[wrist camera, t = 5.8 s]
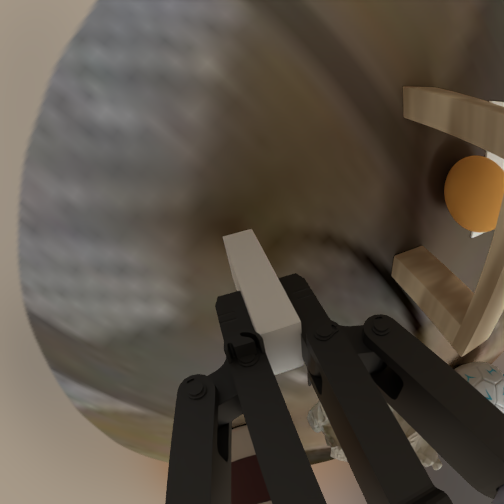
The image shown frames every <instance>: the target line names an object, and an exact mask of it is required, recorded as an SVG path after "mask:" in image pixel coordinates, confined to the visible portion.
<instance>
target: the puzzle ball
mask: <svg viewBox="0 0 504 504" xmlns="http://www.w3.org/2000/svg"><path fill="white" fill-rule="evenodd" d="M454 370H455V371H456V372H457V373H458V374H460V375H461V376H462V377H463V378H464V379H465V380H466V381H468V382H469V383H470V384H471V385H472V386H473V387H475V388H476V389H477V390H478V391H479V392H480V393H481V394H482V395H484V396H485V397H486V398H487V399H488V400H489V401H490V402H491V403H493V404H494V405H495V406H496V407H497V408H498V409H499V410H500V411H502V412H503V413H504V374H502V373H501V371H500V370H499V369H498V368H497V367H495V366H493V365H491V364H489V363H487V362H471V363H467V364H464V365H461V366H459V367H457V368H455V369H454Z"/></svg>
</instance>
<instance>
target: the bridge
mask: <svg viewBox="0 0 504 504" xmlns="http://www.w3.org/2000/svg"><path fill="white" fill-rule="evenodd" d="M403 118H406V119H409V120H412V121H415V122H418V123H421V124H424V125H426V126H429V127H432V128H435V129H437V130H440V131H442V132H445V133H447V134H450V135H452V136H455V137H457V138H460V139H462V140H464V141H467V142H469V143H471V144H473V145H476V146H478V147H480V148H482V149H484V150H486V151H488V152H491V153H493V154H495V155H497V156H499V157H501V158H503V159H504V107H503V106H500V105H497V104H494V103H491V102H488V101H485V100H481V99H478V98H475V97H471V96H468V95H464V94H461V93H457V92H453V91H449V90H445V89H441V88H436V87H411V86H403ZM391 276H392V277H393V278H394V279H395V280H396V281H397V283H398V284H399V285H400V286H401V287H402V288H403V289H404V290H405V291H406V293H407V294H408V295H409V296H410V297H411V298H412V299H413V300H414V302H415V303H416V304H417V305H418V306H419V307H420V308H421V310H422V311H423V312H424V313H425V314H426V315H427V316H428V318H429V319H430V320H431V321H432V322H433V324H434V325H435V326H436V327H437V328H438V329H439V331H440V332H441V333H442V334H443V335H444V337H445V338H446V339H447V340H448V342H449V343H450V344H451V345H452V347H453V348H454V349H455V350H456V352H457V353H458V354H459V355H460V357H463V356H464V355H466V354H467V353H469V352H470V351H471V350H473V349H474V348H476V347H477V346H479V345H480V344H481V343H483V342H484V341H486V340H487V339H488V338H489V336H490V335H491V333H492V331H493V329H494V327H495V325H496V323H497V322H498V320H499V318H500V316H501V314H502V312H503V310H504V194H503V199H502V203H501V208H500V212H499V216H498V220H497V224H496V228H495V232H494V235H493V239H492V242H491V246H490V249H489V252H488V255H487V259H486V262H485V265H484V268H483V271H482V273H481V276H480V279H479V282H478V285H477V287H476V290H475V292H474V293H473V292H472V291H471V290H470V289H469V288H468V287H467V286H466V285H465V284H464V283H463V282H462V281H461V280H460V279H459V278H457V277H456V276H455V275H454V274H453V273H452V272H451V271H450V270H449V269H448V268H447V267H446V266H445V265H444V264H442V263H441V262H440V261H439V260H438V259H437V258H436V257H435V256H434V255H432V254H431V253H430V252H429V251H428V250H427V249H426V248H425V247H423V246H420V247H417V248H414V249H411V250H409V251H406V252H403V253H400V254H398V255H395V256H394V261H393V267H392V274H391Z"/></svg>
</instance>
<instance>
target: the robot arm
mask: <svg viewBox="0 0 504 504" xmlns="http://www.w3.org/2000/svg"><path fill="white" fill-rule="evenodd" d="M223 241H224V245H225V249H226V253H227V257H228V261H229V265H230V269H231V273H232V277H233V280H234V283H235V286H236V289H237V292H233V293H230V294H226V295H223V296H219V297H218V298H217V302H216V305H215V307H216V311H217V315H218V319H219V323H220V327H221V331H222V335H223V339H224V351H225V354H226V360H225V362H224V364H223V365H222V366H221V368H219V369H218V370H217V371H215V372H214V373H212V374H210V375H209V376H206V375H200V374H197V375H192V376H189V377H188V378H186V379H184V380H183V382H182V383H181V384H180V386H179V389H178V392H177V400H176V407H175V415H174V424H173V432H172V441H171V450H170V459H169V469H168V480H167V491H166V503H165V504H231V446H232V420H234V419H235V418H237V417H239V416H240V415H242V414H244V417H245V421H246V424H247V427H248V431H249V434H250V437H251V440H252V444H253V447H254V450H255V453H256V456H257V459H258V462H259V466H260V469H261V472H262V475H263V478H264V481H265V484H266V487H267V490H268V493H269V496H270V498H271V501H272V504H326V501H325V499H324V497H323V494H322V492H321V490H320V487H319V485H318V482H317V480H316V477H315V475H314V473H313V470H312V468H311V465H310V463H309V460H308V458H307V456H306V453H305V451H304V448H303V446H302V443H301V441H300V438H299V436H298V433H297V431H296V428H295V426H294V423H293V421H292V418H291V416H290V413H289V411H288V408H287V406H286V403H285V401H284V398H283V396H282V393H281V391H280V388H279V386H278V383H277V380H276V378H275V375H277V374H280V373H283V372H286V371H289V370H292V369H295V368H298V367H301V366H303V360H304V362H305V364H306V366H307V370H308V385H309V386H310V385H311V383H312V385H313V388H314V390H315V392H316V394H317V396H318V398H319V400H320V403H321V405H322V407H323V409H324V411H325V413H326V416H327V418H328V420H329V422H330V424H331V426H332V428H333V431H334V433H335V435H336V437H337V439H338V441H339V443H340V446H341V448H342V450H343V452H344V454H345V456H346V459H347V461H348V463H349V465H350V467H351V469H352V471H353V473H354V476H355V478H356V480H357V482H358V484H359V486H360V488H361V491H362V493H363V495H364V497H365V499H366V501H367V504H453V503H452V501H451V500H450V498H449V497H448V495H447V494H446V493H444V491H442V490H440V489H437V488H436V487H435V486H434V485H433V483H432V481H431V480H430V478H429V476H428V474H427V472H426V470H425V469H424V467H423V465H422V463H421V461H420V460H419V458H418V456H417V454H416V452H415V451H414V449H413V447H412V445H411V444H410V442H409V440H408V438H407V437H406V435H405V433H404V431H403V430H402V428H401V426H400V424H399V423H398V421H397V419H396V417H395V416H394V414H393V412H392V411H391V409H390V407H389V406H388V404H389V405H390V406H391V407H392V408H393V409H394V410H395V411H396V412H397V413H398V414H399V415H400V416H401V417H402V418H403V419H404V420H405V421H406V422H407V423H408V424H409V425H410V426H411V427H412V428H413V429H414V430H415V431H416V432H417V433H418V434H419V435H420V436H421V437H422V438H423V439H424V440H425V441H426V442H427V443H428V444H429V445H430V446H431V447H432V448H433V449H434V450H435V451H436V452H437V453H438V454H439V455H440V456H441V457H442V458H443V459H444V460H445V461H447V463H449V464H450V465H451V466H452V467H453V468H454V469H455V470H456V471H457V472H458V473H459V474H460V475H461V476H462V477H463V478H464V479H465V480H466V481H467V482H468V483H469V484H470V485H471V486H472V487H474V488H475V489H476V490H477V491H479V492H481V493H482V494H484V495H486V496H488V497H490V498H493V499H494V500H493V501H492V502H491V504H504V413H503V412H502V411H500V410H499V409H498V408H497V407H496V406H495V405H494V404H493V403H491V402H490V401H489V400H488V399H487V398H486V397H485V396H484V395H482V394H481V393H480V392H479V391H478V390H477V389H476V388H475V387H473V386H472V385H471V384H470V383H469V382H468V381H466V380H465V379H464V378H463V377H462V376H461V375H460V374H458V373H457V372H456V371H455V370H454V369H453V368H451V367H450V366H449V365H448V364H447V363H446V362H444V361H443V360H442V359H441V358H440V357H438V356H437V355H436V354H435V353H434V352H432V351H431V350H430V349H429V348H428V347H427V346H425V345H424V344H423V343H422V342H421V341H419V340H418V339H417V338H416V337H414V336H413V335H412V334H411V333H410V332H408V331H407V330H406V329H405V328H404V327H402V326H401V325H400V324H399V323H397V322H396V321H395V320H394V319H392V318H391V317H389V316H386V315H381V314H380V315H374V316H371V317H369V318H368V319H367V320H366V321H365V323H364V325H361V326H341V325H338V324H337V323H336V322H334V321H331V320H330V318H329V317H328V316H327V314H326V312H325V311H324V309H323V307H322V306H321V304H320V303H319V301H318V299H317V298H316V296H315V295H314V293H313V291H312V290H311V288H310V287H309V285H308V283H307V282H306V280H305V279H304V278H302V277H301V276H299V275H298V274H296V273H295V274H292V275H288V276H285V277H282V278H278V277H277V275H276V273H275V271H274V270H273V268H272V266H271V264H270V262H269V260H268V258H267V256H266V255H265V253H264V251H263V249H262V247H261V245H260V243H259V241H258V240H257V238H256V236H255V234H254V232H253V230H252V229H249V230H245V231H241V232H238V233H234V234H230V235H227V236H223ZM387 403H388V404H387Z"/></svg>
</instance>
